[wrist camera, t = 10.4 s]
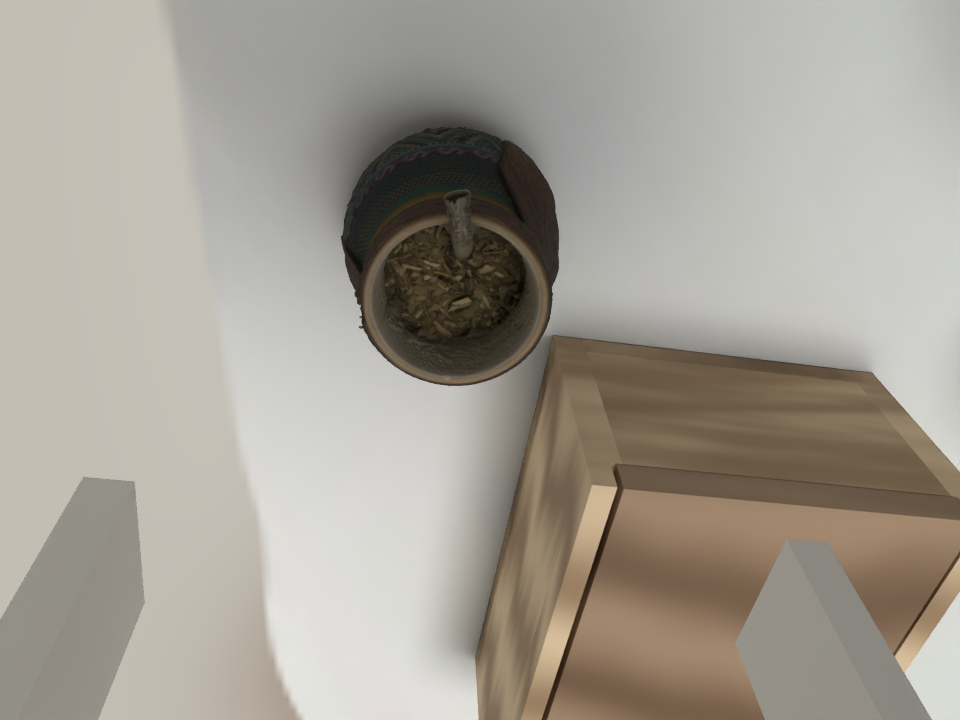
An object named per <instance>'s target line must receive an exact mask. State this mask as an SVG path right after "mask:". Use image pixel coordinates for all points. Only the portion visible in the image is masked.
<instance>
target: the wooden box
mask: <svg viewBox="0 0 960 720" xmlns="http://www.w3.org/2000/svg"><path fill="white" fill-rule="evenodd" d="M616 464H620V465H630V466H640V467H651V468H661V469H671V470H681V471H691V472H702V473H712V474H722V475H732V476H743V477H753V478H763V479H773V480H783V481H794V482H804V483H814V484H824V485H835V486H845V487H855V488H865V489H875V490H886V491H896V492H906V493H916V494H926V495H937V496H947V497H957V498H959V500H960V472H959V471H958V470H957V468H956V467H955V466H954V465H953V464H952V463H951V462H950V460H949V459H948V458H947V457H946V456H945V455H944V454H943V453H942V451H941V450H940V449H939V448H938V447H937V446H936V445H935V443H934V442H933V441H932V440H931V439H930V438H929V437H928V436H927V434H926V433H925V432H924V431H923V430H922V429H921V428H920V426H919V425H918V424H917V423H916V422H915V421H914V420H913V419H912V417H911V416H910V415H909V414H908V413H907V412H906V411H905V409H904V408H903V407H902V406H901V405H900V404H899V403H898V401H897V400H896V399H895V398H894V397H893V396H892V395H891V394H890V392H889V391H888V390H887V389H886V388H885V387H884V386H883V384H882V383H881V382H880V381H879V380H878V379H877V378H876V377H875V375H874V374H873V373H867V372H859V371H850V370H842V369H833V368H825V367H816V366H808V365H799V364H791V363H782V362H774V361H765V360H757V359H749V358H740V357H732V356H723V355H715V354H706V353H698V352H689V351H681V350H672V349H664V348H655V347H647V346H638V345H630V344H621V343H613V342H604V341H596V340H588V339H579V338H571V337H562V336H554V335H553V339H552V343H551V347H550V351H549V355H548V360H547V364H546V368H545V372H544V376H543V380H542V384H541V389H540V393H539V397H538V401H537V405H536V409H535V413H534V418H533V422H532V426H531V430H530V434H529V438H528V442H527V447H526V451H525V455H524V459H523V463H522V467H521V471H520V476H519V480H518V484H517V488H516V492H515V496H514V500H513V504H512V509H511V513H510V517H509V521H508V525H507V529H506V533H505V538H504V542H503V546H502V550H501V554H500V558H499V562H498V567H497V571H496V575H495V579H494V583H493V587H492V591H491V596H490V600H489V604H488V608H487V612H486V616H485V620H484V625H483V629H482V633H481V637H480V641H479V645H478V649H477V653H476V658H475V659H476V677H477V696H478V715H479V720H542V717H543V714H544V710H545V707H546V704H547V701H548V698H549V695H550V692H551V689H552V686H553V683H554V680H555V677H556V674H557V671H558V668H559V665H560V662H561V659H562V655H563V652H564V649H565V646H566V643H567V640H568V637H569V634H570V631H571V628H572V625H573V622H574V619H575V616H576V613H577V610H578V607H579V603H580V600H581V597H582V594H583V591H584V588H585V585H586V582H587V579H588V576H589V573H590V570H591V567H592V564H593V561H594V558H595V555H596V552H597V548H598V545H599V542H600V539H601V536H602V533H603V530H604V527H605V524H606V521H607V518H608V515H609V512H610V509H611V506H612V503H613V500H614V497H615V493H616V490H617V484H616V481H615V477H614V474H613V473H614V470H615V467H616ZM959 592H960V552H959V553H958V555H957V556H956V558H955V559H954V561H953V562H952V564H951V565H950V567H949V568H948V570H947V571H946V573H945V575H944V576H943V578H942V579H941V581H940V582H939V584H938V585H937V587H936V588H935V590H934V591H933V593H932V594H931V596H930V598H929V599H928V601H927V602H926V604H925V605H924V607H923V608H922V610H921V611H920V613H919V614H918V616H917V617H916V619H915V621H914V622H913V624H912V625H911V627H910V628H909V630H908V631H907V633H906V634H905V636H904V637H903V639H902V640H901V642H900V643H899V645H898V647H897V648H896V650H895V651H894V653H893V655H894V657H895V658H896V660H897V662H898V663H899V665H900V667H901V668H902V670H903V672H904V673H905V671H906V670H907V668H908V667H909V665H910V664H911V662H912V661H913V659H914V658H915V657H916V655H917V654H918V652H919V651H920V649H921V648H922V646H923V645H924V643H925V642H926V640H927V639H928V637H929V636H930V634H931V633H932V631H933V630H934V628H935V627H936V625H937V624H938V623H939V621H940V620H941V618H942V617H943V615H944V614H945V612H946V611H947V609H948V608H949V606H950V605H951V603H952V602H953V600H954V599H955V597H956V596H957V594H958V593H959Z"/></svg>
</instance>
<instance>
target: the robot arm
mask: <svg viewBox="0 0 960 720" xmlns="http://www.w3.org/2000/svg"><path fill="white" fill-rule="evenodd" d="M143 605H144V591H143V578H142V566H141V554H140V542H139V530H138V518H137V505H136V492H135V482H133V481H122V480H110V479H100V478H88V477H83V479H82V480H81V482H80V484H79V486H78V487H77V489H76V491H75V492H74V494H73V496H72V498H71V499H70V501H69V503H68V504H67V506H66V508H65V510H64V511H63V513H62V515H61V516H60V518H59V520H58V522H57V523H56V525H55V527H54V528H53V530H52V532H51V534H50V535H49V537H48V539H47V540H46V542H45V544H44V546H43V547H42V549H41V551H40V553H39V554H38V556H37V558H36V559H35V561H34V563H33V565H32V566H31V568H30V570H29V571H28V573H27V575H26V577H25V578H24V580H23V582H22V583H21V585H20V587H19V589H18V590H17V592H16V594H15V595H14V597H13V599H12V601H11V602H10V604H9V606H8V607H7V609H6V611H5V613H4V614H3V616H2V618H1V619H0V720H98V718H99V716H100V713H101V711H102V708H103V706H104V703H105V700H106V698H107V695H108V693H109V690H110V688H111V685H112V683H113V680H114V678H115V675H116V673H117V670H118V668H119V665H120V663H121V660H122V658H123V655H124V653H125V650H126V648H127V645H128V643H129V640H130V637H131V635H132V633H133V630H134V628H135V625H136V623H137V620H138V618H139V615H140V613H141V610H142V607H143ZM735 645H736V647H737V650H738V652H739V655H740V657H741V660H742V662H743V665H744V668H745V670H746V673H747V675H748V678H749V680H750V683H751V685H752V688H753V691H754V693H755V696H756V698H757V701H758V703H759V706H760V708H761V711H762V714H763V716H764V719H765V720H932V719H931V718H930V716H929V714H928V713H927V711H926V709H925V707H924V706H923V704H922V702H921V701H920V699H919V697H918V696H917V694H916V692H915V691H914V689H913V687H912V685H911V684H910V682H909V680H908V679H907V677H906V675H905V674H904V672H903V670H902V668H901V667H900V665H899V663H898V662H897V660H896V658H895V657H894V655H893V653H892V651H891V650H890V648H889V646H888V645H887V643H886V641H885V640H884V638H883V636H882V634H881V633H880V631H879V629H878V628H877V626H876V624H875V623H874V621H873V619H872V618H871V616H870V614H869V612H868V611H867V609H866V607H865V606H864V604H863V602H862V601H861V599H860V597H859V595H858V594H857V592H856V590H855V589H854V587H853V585H852V584H851V582H850V580H849V578H848V577H847V575H846V573H845V572H844V570H843V568H842V567H841V565H840V563H839V561H838V560H837V558H836V556H835V555H834V553H833V551H832V550H831V548H830V546H829V545H828V543H825V542H814V541H802V540H791V539H786V541H785V543H784V545H783V547H782V549H781V552H780V554H779V556H778V558H777V560H776V562H775V564H774V566H773V568H772V570H771V572H770V574H769V576H768V578H767V580H766V582H765V584H764V586H763V588H762V590H761V592H760V594H759V596H758V598H757V600H756V602H755V604H754V606H753V608H752V610H751V612H750V614H749V617H748V619H747V621H746V623H745V625H744V627H743V629H742V631H741V633H740V635H739V637H738V639H737V641H736V643H735Z"/></svg>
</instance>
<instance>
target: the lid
mask: <svg viewBox="0 0 960 720" xmlns="http://www.w3.org/2000/svg"><path fill="white" fill-rule="evenodd" d="M613 474H614V477H615V481H616V484H617V490H616V493H615V497H614V500H613V503H612V506H611V509H610V512H609V515H608V518H607V521H606V524H605V527H604V530H603V533H602V536H601V539H600V542H599V545H598V548H597V552H596V555H595V558H594V561H593V564H592V567H591V570H590V573H589V576H588V579H587V582H586V585H585V588H584V591H583V594H582V597H581V600H580V603H579V607H578V610H577V613H576V616H575V619H574V622H573V625H572V628H571V631H570V634H569V637H568V640H567V643H566V646H565V649H564V652H563V655H562V659H561V662H560V665H559V668H558V671H557V674H556V677H555V680H554V683H553V686H552V689H551V692H550V695H549V698H548V701H547V704H546V707H545V710H544V714H543V717H542V720H765V719H764V716H763V714H762V711H761V708H760V706H759V703H758V701H757V698H756V696H755V693H754V691H753V688H752V685H751V683H750V680H749V678H748V675H747V673H746V670H745V668H744V665H743V662H742V660H741V657H740V655H739V652H738V650H737V647H736V645H735V643H736V641H737V639H738V637H739V635H740V633H741V631H742V629H743V627H744V625H745V623H746V621H747V619H748V617H749V614H750V612H751V610H752V608H753V606H754V604H755V602H756V600H757V598H758V596H759V594H760V592H761V590H762V588H763V586H764V584H765V582H766V580H767V578H768V576H769V574H770V572H771V570H772V568H773V566H774V564H775V562H776V560H777V558H778V556H779V554H780V552H781V549H782V547H783V545H784V543H785V541H786V539H791V540H802V541H814V542H825V543H828V545H829V546H830V548H831V550H832V551H833V553H834V555H835V556H836V558H837V560H838V561H839V563H840V565H841V567H842V568H843V570H844V572H845V573H846V575H847V577H848V578H849V580H850V582H851V584H852V585H853V587H854V589H855V590H856V592H857V594H858V595H859V597H860V599H861V601H862V602H863V604H864V606H865V607H866V609H867V611H868V612H869V614H870V616H871V618H872V619H873V621H874V623H875V624H876V626H877V628H878V629H879V631H880V633H881V634H882V636H883V638H884V640H885V641H886V643H887V645H888V646H889V648H890V650H891V651H892V653H894V651H895V650H896V648H897V647H898V645H899V643H900V642H901V640H902V639H903V637H904V636H905V634H906V633H907V631H908V630H909V628H910V627H911V625H912V624H913V622H914V621H915V619H916V617H917V616H918V614H919V613H920V611H921V610H922V608H923V607H924V605H925V604H926V602H927V601H928V599H929V598H930V596H931V594H932V593H933V591H934V590H935V588H936V587H937V585H938V584H939V582H940V581H941V579H942V578H943V576H944V575H945V573H946V571H947V570H948V568H949V567H950V565H951V564H952V562H953V561H954V559H955V558H956V556H957V555H958V553H959V552H960V500H959V498H957V497H947V496H937V495H926V494H916V493H906V492H896V491H886V490H875V489H865V488H855V487H845V486H835V485H824V484H814V483H804V482H794V481H783V480H773V479H763V478H753V477H743V476H732V475H722V474H712V473H702V472H691V471H681V470H671V469H661V468H651V467H640V466H630V465H620V464H616V467H615V470H614V473H613Z"/></svg>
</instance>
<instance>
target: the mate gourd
mask: <svg viewBox="0 0 960 720" xmlns="http://www.w3.org/2000/svg"><path fill="white" fill-rule="evenodd" d="M347 206H348V208H347V211H346V215H345V220H344V230H343V235H342V236H341V238H342V239H341V240H342V246H343V250H344V253H345V264H346V267H347V271H348V274H349V278H350V281H351V283H352V285H353V287H354V289H355V290H356V291H355V297H357V304H359V305H361V308H360V310H361V313H362V316H361V317H360V318H362V325H363V326H359V328H361V329H362V328H364V331H365V333H366V334H367V336H368V338H369V340H370V341H371V343H372V344H373V346H375V347H376V349H377V350H378V351H379V352H380V353H381V354H382V355H383V357H384V358H386V359H387V361H389V362H390V363H391V364H393V365H394V366H395V367H397V368H398V369H400V370H401V371H403V372H405V373H406V374H409V375H411V376H413V377H415V378H418V379H420V380H423V381H427V382H430V383H434V384H440V385H448V386H464V385H472V384H478V383H481V382H485V381H488V380H491V379H493V378H496V377H498V376H500V375H502V374H504V373H506V372H508V371H509V370H511V369H513V368H514V367H516V366H517V365H518V364H520V363H521V362H522V361H523V360H524V359H526V358H527V356H528V355H529V354H530V353H531V352H532V351H533V349H534V348H535V347H536V345H537V344H538V343H539V341H540V339H541V337H542V336H543V333H544V332H545V329H546V327H547V325H548V322H549V319H550V314H551V306H552V300H553V299H552V295H553V293H552V286H553V283H554V282H555V279H556V276H557V273H558V270H559V258H558V250H559V229H558V224H557V218H556V213H555V200H554V196H553V193H552V190H551V188H550V186H549V184H548V182H547V181H546V179H545V177H544V176H543V175H542V173H541V171H540V170H539V168H538V167H537V166H536V164H535V163H534V162H533V160H532V159H531V158H530V157H529V156H528V155H527V154H525V152H524V151H522V149H521V148H518V146H516V145H514V144H513V143H512V142H510V141H506V140H504V141H502V140H500V139H499V138H497V137H495V136H491V135H490V134H486V133H484V132H479V131H476V130H473V129H466V128H461V127H459V128H444V127H441V128H436V129H428V128H427V129H426V130H424V131H422V132H420V133H416V134H413V135H411V136H408V137H406V138H405V139H403V140H401V141H398V142H397V143H395V144H394V145H392V146H391V147H390V148H388V149H387V150H386V151H385V152H383V153H382V154H381V155H380V156H378V157H377V158H376V159H375V160H374V161H373V162H372V163H371V164H370V165H369V166H368V168H367V169H366V170H365V171H364V172H363V174H362V176H361V177H360V179H359V181H358V183H357V185H356V187H355V189H354V191H353V194H352V198H351V200H350V202H349V204H348V205H347Z"/></svg>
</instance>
